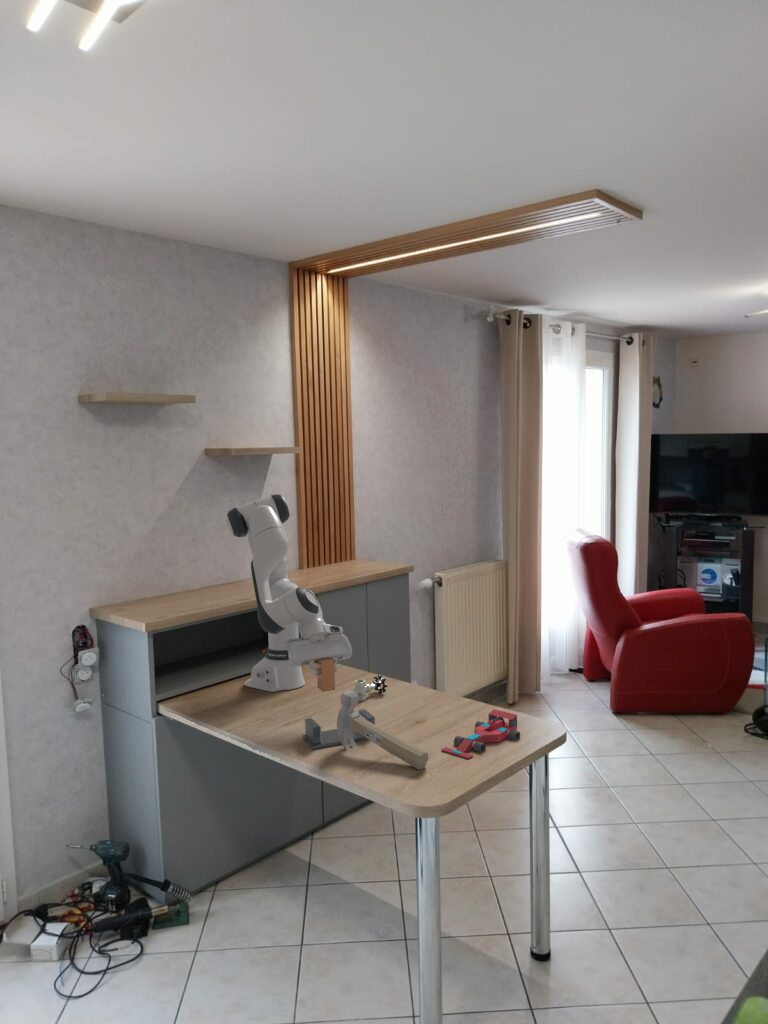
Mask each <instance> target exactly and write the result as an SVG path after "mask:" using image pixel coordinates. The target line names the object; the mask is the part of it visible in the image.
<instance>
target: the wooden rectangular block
mask: <svg viewBox="0 0 768 1024" xmlns="http://www.w3.org/2000/svg"><path fill="white" fill-rule="evenodd" d="M316 668H320V672H321V673H320V675H318V676H316V679H317V680H316V681H317V688H318V689H319V690H320V691H321V692H323V693H324V692H331V691H335V690H336V679H335V678H336V675H335V674H336V673H334V661H333V660H332V659H330V658H323V659H317V664H316Z"/></svg>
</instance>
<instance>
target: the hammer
mask: <svg viewBox="0 0 768 1024" xmlns="http://www.w3.org/2000/svg"><path fill="white" fill-rule="evenodd" d="M340 700H341V701H340V703H341V705H342V706H341V708H340V709H339V711H338V714H337V720H336V729H338V736H339V739H340V742H341V745H342V747H343V748H344V749H345V751H349V750H351V748H352V749H353V748H355V747H357V744H356V743H357V742H355V741H354V738H353V732H352V730H353V731H355V732H357V733H359V734H361V735H363V736H364V737H366V738H367V740H369V741H371V743H374V744H376V745H377V746H378V747H380V748H381V749H383V750H384V751H386V752H387V753H389V754H390V755H392V756H394V757H396V758H398V759H399V760H401V761H403V762H405V763H406V764H408V765H409V766H411V767H413V768H414V769H416V770H418V771H420V770H423V769H424V768H425V767H426V766H427V764H428V761H429V752H428V751H426V750H424V749H422V748H420V747H418V746H415V745H413V744H411V743H409V742H407V741H406V740H404V739H402V738H400V737H399V736H397V735H394V734H393V733H391V732H390V731H387V730H386V729H383V728H382V727H380V726H378V725H376V724H375V725H374V724H373V723H371V722H369V721H367V720H365V719H364V718H362V717H360V714H359V713H357V712H358V711H355V706H358V703H359V702H360V701H359V696H358V694H357V693H355V692H354V690H345V691H344V692H343V693H342V694H341V696H340Z"/></svg>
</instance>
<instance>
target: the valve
mask: <svg viewBox="0 0 768 1024" xmlns="http://www.w3.org/2000/svg"><path fill="white" fill-rule="evenodd" d="M382 676H383V675H382V674H378V675H375V676H373V681H372V683H371V684H370V683H366V680H365V679H356V680H354V686H355V687H354V689H353V692H355V693H357V694H358V696H359V701H358V702H364V701H366V700H367V695H366V694H368V693H371V692H372V691H371V690H374V691H377V693H378V694H383V693H386V692H387V689H386V688H387V687H388V683H385V682H386V678H385V677H383V678H382ZM379 680H380V681H379Z"/></svg>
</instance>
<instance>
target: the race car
mask: <svg viewBox="0 0 768 1024" xmlns="http://www.w3.org/2000/svg"><path fill="white" fill-rule="evenodd" d="M487 715H488V716H487V717H488V721H487V722H484V721H483V722H482V721H479V720H477V721H476V722H475V725H474V733H473V734H471V735H469V736H467V737H463V736H459V735H456V736H455V737H454V739H453V745H454V746H457V747H456V748H455V749H454V748H450V747H447V746H445V747H443V748H442V749H440V750H441V752H444V753H448V754H450V755H451V754H452V755H454V756H457V757H461V758H464V759H468V760H469V759H471V758H473V757H474V755H473V754H470V753H467V752H469V751H472V750H473V751H474V752H477V753H478V752H479V753H482V751H486V750H487V745H486V744H488V743H499V742H501V741H504V740H505V739H509V740H512V741H517V739H520V738H521V733H520V731H518V714H516V713H511V712H507V711H503V710H499V709H492V710H491V711H490V712H489V713H488V714H487ZM505 719H507V720H508V722H506V721H505Z"/></svg>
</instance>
